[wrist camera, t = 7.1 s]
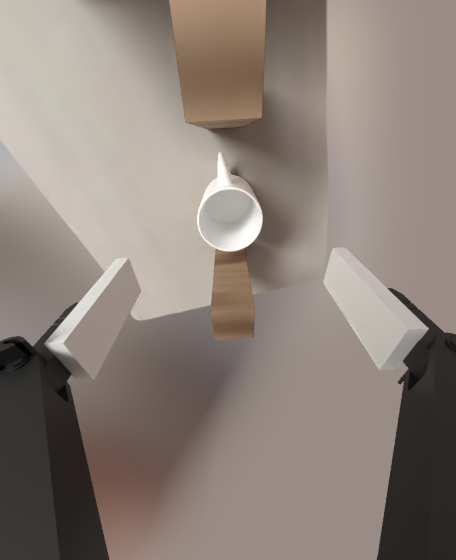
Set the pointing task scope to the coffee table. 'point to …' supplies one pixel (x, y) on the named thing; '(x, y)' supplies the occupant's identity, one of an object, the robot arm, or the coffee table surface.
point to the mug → (229, 211)
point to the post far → (232, 297)
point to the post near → (220, 60)
